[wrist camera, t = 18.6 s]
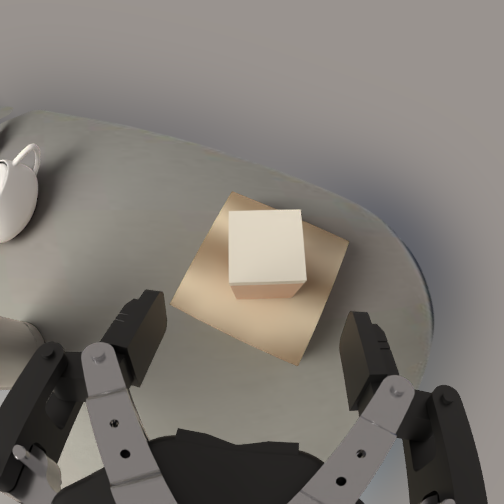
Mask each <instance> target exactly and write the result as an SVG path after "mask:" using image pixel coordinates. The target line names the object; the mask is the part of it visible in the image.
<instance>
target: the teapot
mask: <svg viewBox="0 0 504 504" xmlns="http://www.w3.org/2000/svg"><path fill="white" fill-rule="evenodd" d="M32 150H33V151H34V152H35V165H34V168H33V171H32V170H31V168H29V167H28V166H26V165H24V164H22V163H19V162H20V161H21V160H22V159H23V158H24V157H25V155H27V154H28V153H29V152H30V151H32ZM40 162H41V151H40V149H39V147H38V145H36V144H34V143H32V144H30V145H28V146H27V147H26V148H24V149H23V150H22V151H21V152H20V153H19V155H18V156H17V157H16V158H15V159H14V160H13V161H10V160H0V243H3V242H6V241H9V240H11V239H12V238H14V237H15V236H16V235H17V234H19V233H20V232H21V231H22V230H23V229H24V228H25V226H26V225H27V224H28V222H29V221H30V219H31V217H32V215H33V212H34V210H35V207H36V202H37V196H38V181H37V178H36V175H37V173H38V170H39V166H40Z"/></svg>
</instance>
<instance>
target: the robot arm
mask: <svg viewBox="0 0 504 504" xmlns="http://www.w3.org/2000/svg"><path fill="white" fill-rule="evenodd" d="M166 327H167V316H166V308H165V300H164V294H163V292H160V291H154V290H147V289H146V290H145V291H144V292H143V294H142V295H141V296H140V298H139V299H133V300H131V301H130V302H128V303H127V304H126V305H125V306H124V307H123V308H122V310H121V311H120V314H118V316H117V317H116V319H115V320H114V321H113V323H112V324H111V326H110V327H109V329H108V330H107V332H106V333H105V335H104V336H103V338H102V339H101V341H100V342H97V343H93V344H90V345H89V346H87V347H86V348H85V349H84V350H83V352H64V349H63V347H62V346H61V345H60V344H59V343H56V342H48V343H44V340H43V338H42V336H41V334H40V332H39V331H38V329H37V328H36V327H35V326H33V325H32V324H30V323H27V322H22V321H18V320H13V319H10V318H5V317H1V316H0V390H10V392H9V393H8V395H7V397H6V398H5V400H4V402H3V403H2V405H1V407H0V492H2V493H4V494H5V495H7V496H9V497H10V498H12V499H14V500H16V501H17V502H19V503H21V504H364V503H363V502H362V501H361V500H360V499H359V497H360V496H361V494H362V493H363V492H364V490H365V489H366V487H367V485H368V484H369V483H370V481H371V480H372V478H373V477H374V475H375V474H376V472H377V470H378V469H379V467H380V466H381V464H382V462H383V461H384V459H385V457H386V455H387V454H388V452H389V450H390V449H391V447H392V445H393V443H394V441H395V439H396V438H401V439H402V440H403V447H404V454H405V461H406V469H407V478H408V487H409V498H410V504H488V502H487V496H486V491H485V485H484V480H483V475H482V470H481V466H480V462H479V457H478V453H477V450H476V446H475V442H474V439H473V435H472V432H471V428H470V425H469V422H468V419H467V416H466V413H465V409H464V407H463V404H462V401H461V398H460V396H459V394H458V392H457V391H456V390H455V389H454V388H452V387H450V386H447V385H441V386H438V387H436V388H435V390H434V391H433V392H432V393H429V392H424V391H419V390H415V389H414V387H413V385H412V383H411V382H410V381H409V380H408V379H406V378H404V377H402V376H400V375H399V373H398V370H397V367H396V364H395V361H394V358H393V355H392V352H391V350H390V347H389V344H388V343H387V338H386V336H385V333H384V331H383V330H382V329H381V328H380V327H379V326H378V325H377V324H372V323H371V320H370V318H369V315H368V313H367V312H354V311H351V312H349V314H348V317H347V320H346V323H345V326H344V329H343V332H342V335H341V338H340V345H339V350H340V356H341V362H342V367H343V373H344V379H345V385H346V391H347V398H348V404H349V411H355V410H358V412H359V418H358V420H357V421H356V423H355V424H354V426H353V427H352V428H351V430H350V431H349V433H348V434H347V435H346V437H345V438H344V439H343V441H342V442H341V443H340V445H339V446H338V447H337V448H336V450H335V451H334V452H333V453H332V455H331V456H330V457H329V458H328V460H327V461H326V462H325V463H324V462H323V461H321V460H320V459H318V458H317V457H315V456H313V455H311V454H309V453H306V452H303V451H299V443H288V442H270V441H268V442H261V443H253V444H243V445H235V444H232V443H229V442H227V441H224V440H221V439H219V438H216V437H214V436H211V435H209V434H205V433H199V432H194V431H189V430H184V429H179V428H178V430H177V433H176V435H171V436H164V437H159V438H156V439H153V440H149V438H148V435H147V433H146V431H145V429H144V427H143V424H142V422H141V419H140V417H139V414H138V412H137V409H136V407H135V404H134V402H133V399H132V396H131V393H130V391H129V388H130V386H131V385H134V386H137V387H140V386H141V384H142V381H143V379H144V377H145V375H146V373H147V370H148V368H149V366H150V364H151V362H152V359H153V357H154V355H155V353H156V351H157V349H158V346H159V344H160V342H161V340H162V338H163V336H164V334H165V331H166ZM52 391H53V392H52ZM51 393H52V394H51ZM83 402H86V404H87V408H88V413H89V417H90V421H91V424H92V428H93V432H94V435H95V439H96V442H97V446H98V449H99V452H100V455H101V458H102V461H103V464H104V467H103V468H102V469H100V470H98V471H96V472H94V473H92V474H91V475H89V476H87V477H85V478H83V479H81V480H79V481H77V482H75V483H73V484H71V485H69V486H67V487H65V488H63V489H62V490H61V486H60V485H61V484H62V480H61V471H60V468H59V466H58V465H57V463H58V460H59V458H60V455H61V453H62V450H63V448H64V445H65V443H66V440H67V438H68V436H69V433H70V431H71V429H72V426H73V424H74V422H75V419H76V417H77V415H78V413H79V411H80V408H81V406H82V404H83Z"/></svg>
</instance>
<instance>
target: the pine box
mask: <svg viewBox="0 0 504 504" xmlns="http://www.w3.org/2000/svg"><path fill="white" fill-rule="evenodd" d="M252 210H277V209H274V208H272V207H269V206H267V205H265V204H262V203H260V202H257V201H255V200H252V199H250V198H248V197H245V196H243V195H240V194H238V193H235V192H233V191H232V192H231V194H230V196H229V197H228V199H227V201H226V202H225V204H224V206H223V208H222V209H221V211H220V213H219V215H218V216H217V218H216V220H215V222H214V223H213V225H212V227H211V229H210V231H209V232H208V234H207V236H206V238H205V239H204V241H203V243H202V245H201V247H200V248H199V250H198V252H197V254H196V256H195V258H194V259H193V261H192V263H191V265H190V267H189V269H188V271H187V272H186V274H185V276H184V278H183V280H182V282H181V284H180V286H179V287H178V289H177V291H176V293H175V295H174V297H173V299H172V301H171V303H170V305H172V306H174V307H176V308H178V309H179V310H181V311H183V312H185V313H187V314H189V315H191V316H192V317H194V318H196V319H198V320H200V321H202V322H204V323H206V324H208V325H210V326H212V327H214V328H216V329H218V330H220V331H222V332H224V333H226V334H228V335H230V336H232V337H234V338H236V339H238V340H240V341H242V342H245V343H247V344H249V345H251V346H253V347H255V348H257V349H260V350H262V351H264V352H266V353H268V354H271V355H273V356H275V357H277V358H280V359H282V360H284V361H287V362H289V363H291V364H294V365H296V366H298V365H299V363H300V361H301V358H302V356H303V354H304V352H305V350H306V348H307V345H308V343H309V341H310V339H311V336H312V334H313V332H314V330H315V327H316V325H317V323H318V320H319V318H320V316H321V313H322V311H323V309H324V306H325V304H326V301H327V299H328V296H329V294H330V292H331V289H332V287H333V284H334V281H335V279H336V276H337V274H338V271H339V268H340V266H341V263H342V260H343V258H344V255H345V252H346V250H347V247H348V244H349V241H347V240H345V239H343V238H340V237H338V236H336V235H334V234H332V233H329V232H327V231H325V230H323V229H320V228H318V227H316V226H314V225H311V224H309V223H307V222H305V221H302V229H303V240H304V252H305V265H306V278H307V280H306V282H305V283H304V284H303V285H302V286H301V288H300V289H299V290H298V291H297V292H296V293H295V294H294V296H293V297H292V298H274V299H240V300H237V299H236V297H235V295H234V293H233V291H232V289H231V286H230V284H229V211H252Z"/></svg>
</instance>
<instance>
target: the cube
mask: <svg viewBox="0 0 504 504" xmlns="http://www.w3.org/2000/svg"><path fill="white" fill-rule="evenodd" d="M306 280H307V278H306V265H305V252H304V240H303V229H302V218H301V210H252V211H229V284H230V286H231V289H232V291H233V293H234V295H235V297H236V299H237V300H240V299H274V298H292V297H293V296H294V294H295V293H296V292H297V291H298V290H299V289H300V288H301V286H302V285H303V284H304V283H305V282H306Z"/></svg>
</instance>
